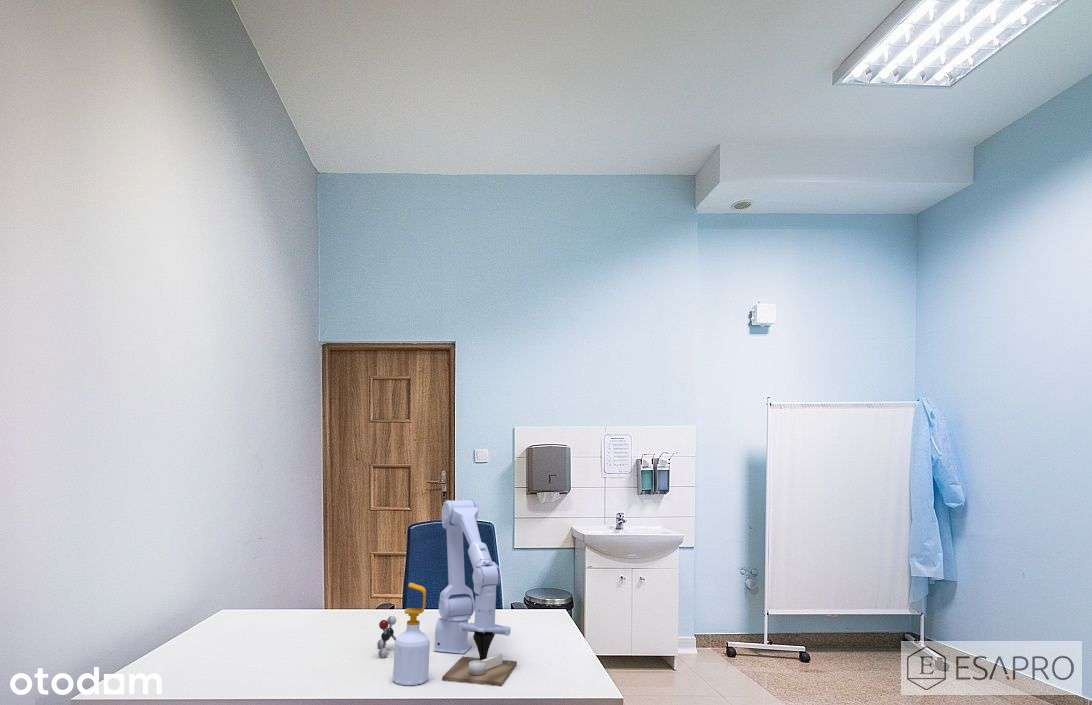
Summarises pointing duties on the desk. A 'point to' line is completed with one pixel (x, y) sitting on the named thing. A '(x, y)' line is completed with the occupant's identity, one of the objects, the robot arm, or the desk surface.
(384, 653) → the molecular model
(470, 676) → the dial board
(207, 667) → the desk surface
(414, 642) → the soap bottle
